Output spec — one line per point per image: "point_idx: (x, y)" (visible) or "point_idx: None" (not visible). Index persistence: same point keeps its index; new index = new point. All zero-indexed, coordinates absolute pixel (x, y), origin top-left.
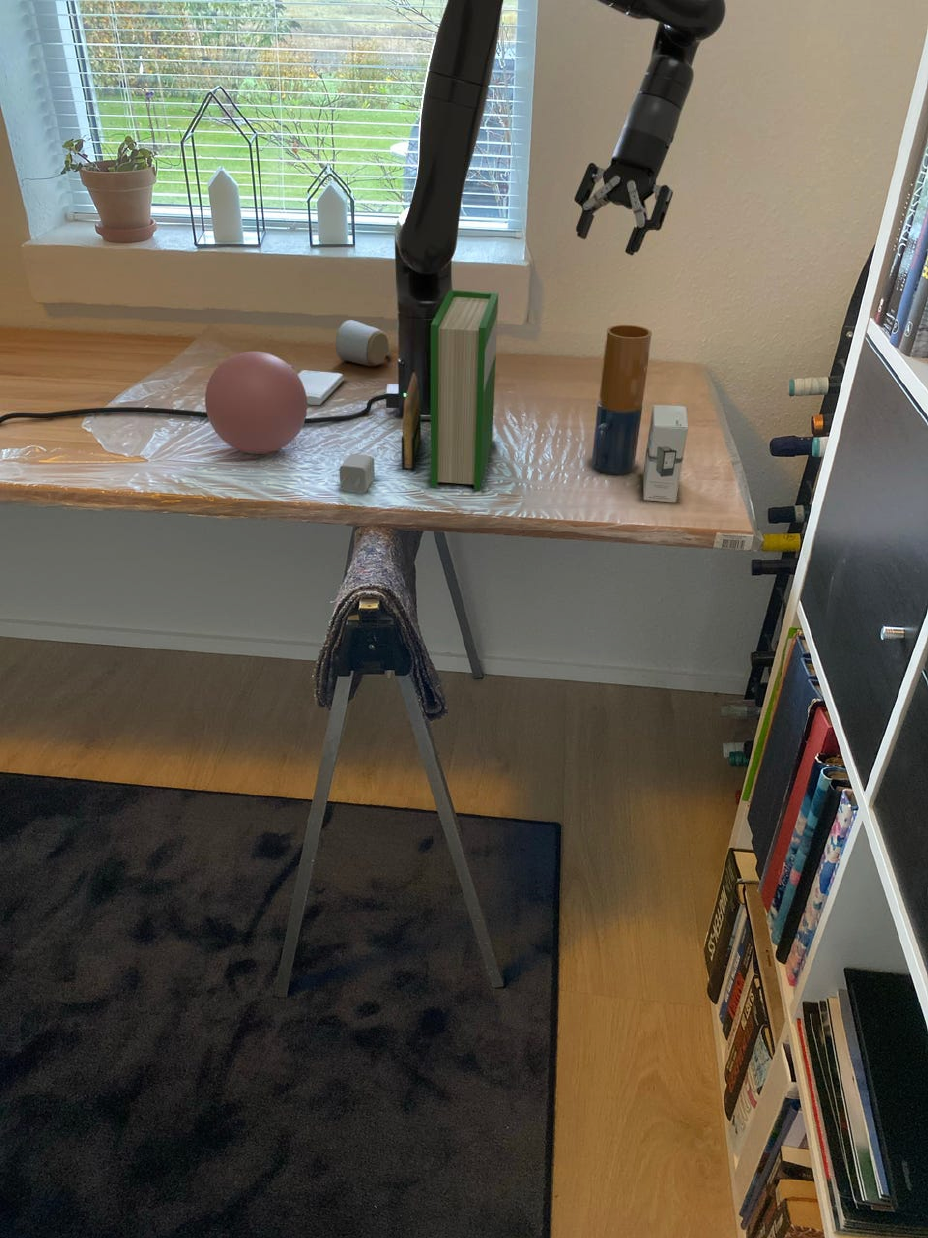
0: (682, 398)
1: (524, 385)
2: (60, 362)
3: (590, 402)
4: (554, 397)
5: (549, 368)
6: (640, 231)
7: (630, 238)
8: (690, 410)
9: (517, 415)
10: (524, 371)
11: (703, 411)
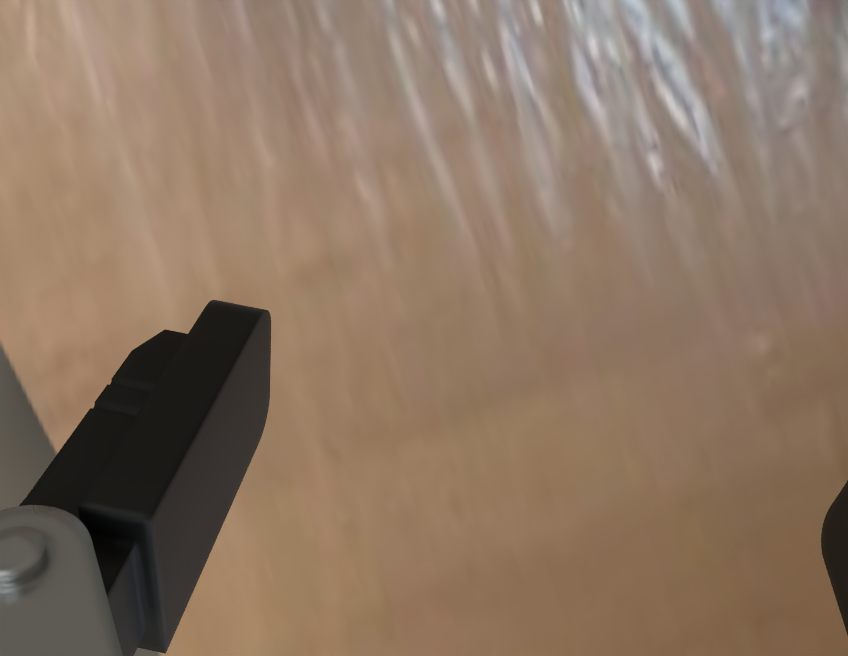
0: (208, 558)
1: (732, 424)
2: None
3: (477, 383)
4: (604, 368)
5: (697, 605)
6: (61, 502)
7: (205, 393)
8: None
9: (675, 148)
10: (768, 542)
11: None
